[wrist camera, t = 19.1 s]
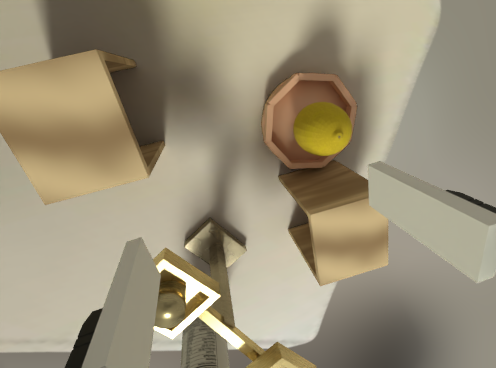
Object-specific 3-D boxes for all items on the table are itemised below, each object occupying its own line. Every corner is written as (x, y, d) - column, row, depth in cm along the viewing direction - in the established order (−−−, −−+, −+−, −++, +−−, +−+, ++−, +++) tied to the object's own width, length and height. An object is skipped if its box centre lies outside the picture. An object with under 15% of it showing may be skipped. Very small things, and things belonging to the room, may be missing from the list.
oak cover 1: (55, 78, 26) (-34, 78, 16) (134, 60, 27) (96, 49, 17) (96, 163, 30) (45, 205, 20) (165, 145, 30) (148, 177, 20)
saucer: (242, 121, 31) (245, 124, 29) (311, 51, 29) (320, 49, 27) (298, 179, 35) (304, 185, 33) (361, 121, 33) (372, 123, 31)
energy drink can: (192, 328, 42) (188, 450, 28) (178, 302, 39) (167, 422, 26) (227, 315, 42) (241, 430, 28) (216, 289, 40) (225, 400, 26)
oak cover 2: (278, 175, 34) (310, 215, 24) (334, 160, 35) (388, 192, 25) (288, 232, 38) (320, 286, 28) (339, 217, 39) (388, 265, 29)
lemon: (276, 117, 30) (300, 129, 23) (315, 89, 30) (353, 92, 23) (298, 154, 32) (327, 176, 25) (335, 128, 32) (375, 143, 25)
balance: (146, 219, 33) (100, 340, 18) (177, 187, 32) (157, 285, 17) (246, 288, 41) (275, 416, 25) (274, 264, 40) (322, 381, 24)
